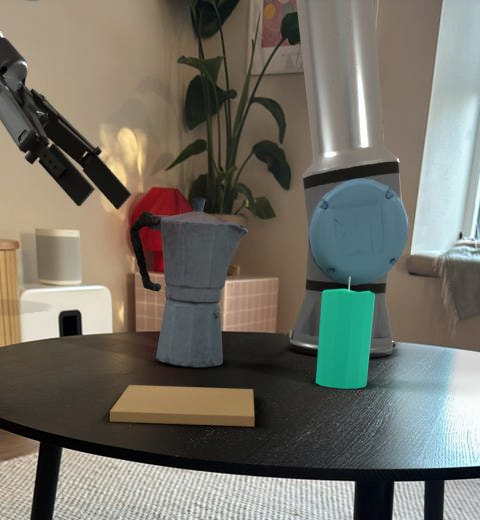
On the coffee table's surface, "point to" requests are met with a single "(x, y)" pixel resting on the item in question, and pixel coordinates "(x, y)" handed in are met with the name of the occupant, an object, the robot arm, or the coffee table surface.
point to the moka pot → (190, 281)
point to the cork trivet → (185, 406)
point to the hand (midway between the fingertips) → (106, 200)
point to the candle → (344, 338)
